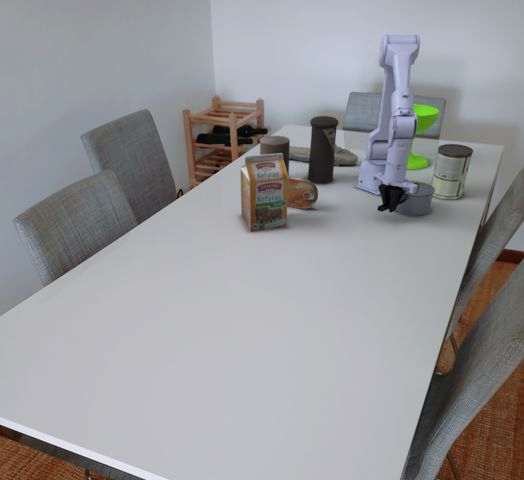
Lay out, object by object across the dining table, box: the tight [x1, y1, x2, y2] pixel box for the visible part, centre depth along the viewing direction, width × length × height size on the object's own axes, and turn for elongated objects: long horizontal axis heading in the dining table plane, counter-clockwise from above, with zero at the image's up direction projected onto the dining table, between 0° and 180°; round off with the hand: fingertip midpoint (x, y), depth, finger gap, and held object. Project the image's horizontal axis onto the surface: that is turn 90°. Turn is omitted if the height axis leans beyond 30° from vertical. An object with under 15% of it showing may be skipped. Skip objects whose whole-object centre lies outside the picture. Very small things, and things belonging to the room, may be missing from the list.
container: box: [307, 115, 340, 185], centre depth 167 cm, size 9×9×20 cm
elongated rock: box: [289, 143, 359, 167], centre depth 189 cm, size 35×5×10 cm
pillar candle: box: [259, 135, 290, 177], centre depth 168 cm, size 10×10×15 cm
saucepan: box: [376, 180, 435, 217], centre depth 150 cm, size 12×22×8 cm, turn 131°
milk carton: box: [240, 153, 288, 233], centre depth 141 cm, size 11×11×19 cm
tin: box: [287, 176, 319, 210], centre depth 154 cm, size 15×3×8 cm, turn 62°
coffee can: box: [430, 143, 474, 200], centre depth 160 cm, size 10×10×14 cm
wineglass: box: [407, 103, 440, 170], centre depth 183 cm, size 16×16×18 cm
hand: (389, 210), depth 147 cm, fingers closed on saucepan
